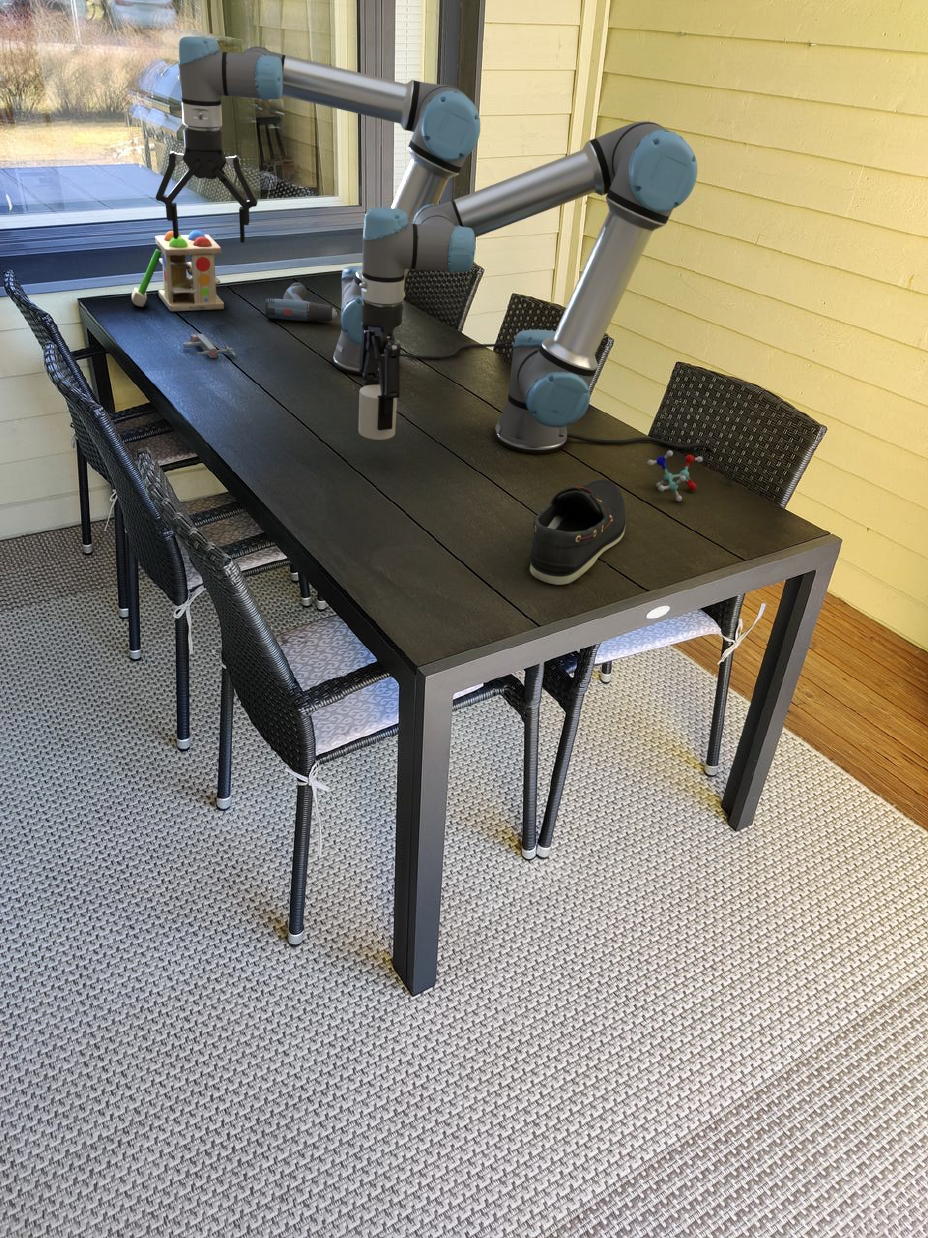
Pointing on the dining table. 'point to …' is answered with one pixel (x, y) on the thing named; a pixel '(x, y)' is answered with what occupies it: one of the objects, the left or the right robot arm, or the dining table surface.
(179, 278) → the pounding bench toy
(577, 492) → the boat shoe
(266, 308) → the power drill
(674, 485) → the molecular model
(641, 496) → the dining table surface
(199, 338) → the clamp
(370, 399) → the can
